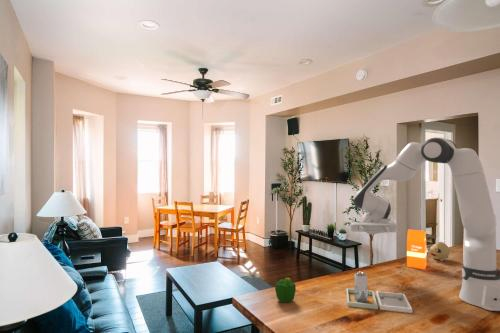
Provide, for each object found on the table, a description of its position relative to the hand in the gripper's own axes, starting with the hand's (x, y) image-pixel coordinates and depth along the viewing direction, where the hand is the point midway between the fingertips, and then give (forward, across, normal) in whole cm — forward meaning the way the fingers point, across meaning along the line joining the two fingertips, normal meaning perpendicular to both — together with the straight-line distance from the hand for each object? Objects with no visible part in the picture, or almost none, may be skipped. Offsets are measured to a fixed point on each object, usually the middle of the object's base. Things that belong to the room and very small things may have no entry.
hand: (375, 230), depth 138 cm
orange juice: (-43, +26, +28) cm, 58 cm away
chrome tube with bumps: (+14, -8, +27) cm, 31 cm away
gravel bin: (+14, +4, +28) cm, 31 cm away
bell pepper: (+18, -38, +27) cm, 50 cm away
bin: (+14, -8, +28) cm, 32 cm away
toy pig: (-58, +41, +28) cm, 77 cm away
